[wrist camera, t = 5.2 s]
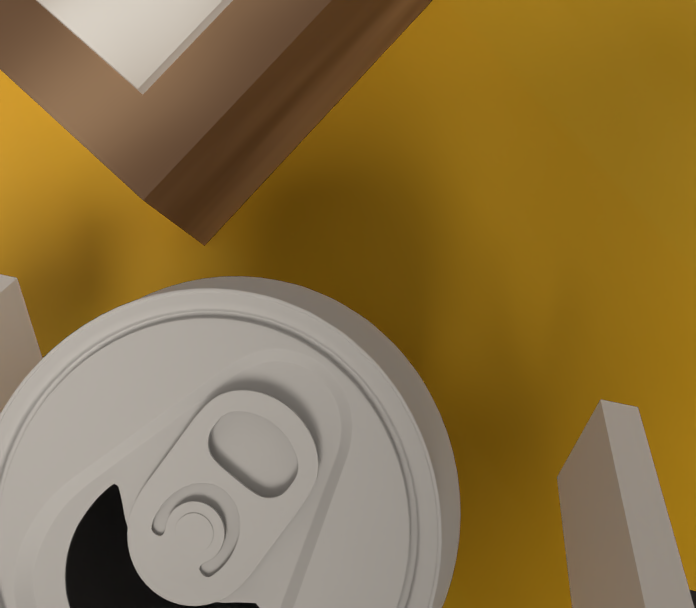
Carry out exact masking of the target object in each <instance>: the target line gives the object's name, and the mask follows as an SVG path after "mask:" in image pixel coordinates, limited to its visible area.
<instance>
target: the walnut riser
mask: <svg viewBox="0 0 696 608" xmlns="http://www.w3.org/2000/svg"><path fill="white" fill-rule="evenodd" d="M431 1H432V0H0V69H1V70H2V71H3V72H4V73H5V74H6V75H7V76H8V77H9V78H10V79H11V80H13V81H14V82H15V83H16V84H17V85H18V86H19V87H20V88H21V89H22V90H23V91H25V92H26V93H27V94H28V95H29V96H30V97H31V98H32V99H33V100H34V101H35V102H37V103H38V104H39V105H40V106H41V107H42V108H43V109H44V110H45V111H46V112H47V113H49V114H50V115H51V116H52V117H53V118H54V119H55V120H56V121H57V122H58V123H59V124H60V125H62V126H63V127H64V128H65V129H66V130H67V131H68V132H69V133H70V134H71V135H72V136H74V137H75V138H76V139H77V140H78V141H79V142H80V143H81V144H82V145H83V146H84V147H86V148H87V149H88V150H89V151H90V152H91V153H92V154H93V155H94V156H95V157H96V158H98V159H99V160H100V161H101V162H102V163H103V164H104V165H105V166H106V167H107V168H108V169H110V170H111V171H112V172H113V173H114V174H115V175H116V176H117V177H118V178H119V179H120V180H122V181H123V182H124V183H125V184H126V185H127V186H128V187H129V188H130V189H131V190H132V191H134V192H135V193H136V194H137V195H138V196H139V197H140V198H141V199H142V200H143V201H145V202H146V203H147V204H149V205H150V206H152V207H153V208H154V209H156V210H157V211H158V212H160V213H161V214H162V215H164V216H165V217H166V218H168V219H169V220H171V221H172V222H173V223H175V224H176V225H177V226H179V227H180V228H181V229H183V230H184V231H185V232H187V233H188V234H189V235H191V236H192V237H194V238H195V239H196V240H198V241H199V242H200V243H202V244H203V245H204V246H205V244H206V243H207V242H208V241H209V240H210V239H211V238H212V237H213V236H214V235H215V234H216V233H217V232H218V231H219V229H220V228H221V227H222V226H223V225H224V224H225V223H226V222H227V221H228V220H229V219H230V218H231V217H232V215H233V214H234V213H235V212H236V211H237V210H238V209H239V208H240V207H241V206H242V205H243V204H244V203H245V201H246V200H247V199H248V198H249V197H250V196H251V195H252V194H253V193H254V192H255V191H256V190H257V189H258V187H259V186H260V185H261V184H262V183H263V182H264V181H265V180H266V179H267V178H268V177H269V176H270V175H271V173H272V172H273V171H274V170H275V169H276V168H277V167H278V166H279V165H280V164H281V163H282V162H283V161H284V159H285V158H286V157H287V156H288V155H289V154H290V153H291V152H292V151H293V150H294V149H295V148H296V147H297V145H298V144H299V143H300V142H301V141H302V140H303V139H304V138H305V137H306V136H307V135H308V134H309V133H310V131H311V130H312V129H313V128H314V127H315V126H316V125H317V124H318V123H319V122H320V121H321V120H322V119H323V117H324V116H325V115H326V114H327V113H328V112H329V111H330V110H331V109H332V108H333V107H334V106H335V105H336V104H337V102H338V101H339V100H340V99H341V98H342V97H343V96H344V95H345V94H346V93H347V92H348V91H349V90H350V88H351V87H352V86H353V85H354V84H355V83H356V82H357V81H358V80H359V79H360V78H361V77H362V76H363V74H364V73H365V72H366V71H367V70H368V69H369V68H370V67H371V66H372V65H373V64H374V63H375V62H376V60H377V59H378V58H379V57H380V56H381V55H382V54H383V53H384V52H385V51H386V50H387V49H388V48H389V46H390V45H391V44H392V43H393V42H394V41H395V40H396V39H397V38H398V37H399V36H400V35H401V34H402V32H403V31H404V30H405V29H406V28H407V27H408V26H409V25H410V24H411V23H412V22H413V21H414V20H415V18H416V17H417V16H418V15H419V14H420V13H421V12H422V11H423V10H424V9H425V8H426V7H427V6H428V4H429V3H430V2H431Z"/></svg>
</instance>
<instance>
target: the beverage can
mask: <svg viewBox="0 0 696 608" xmlns="http://www.w3.org/2000/svg"><path fill="white" fill-rule="evenodd" d="M460 518H461V513H460V491H459V482H458V473H457V468H456V464H455V459H454V454H453V450H452V447H451V443H450V440H449V436H448V433H447V430H446V428H445V425H444V422H443V420H442V417H441V415H440V412H439V410H438V408H437V406H436V404H435V402H434V400H433V398H432V396H431V394H430V392H429V391H428V389H427V387H426V385H425V384H424V382H423V380H422V379H421V377H420V376H419V374H418V373H417V371H416V370H415V368H414V367H413V366H412V365H411V363H410V362H409V361H408V360H407V358H406V357H405V356H404V355H403V353H402V352H401V351H400V350H399V349H398V348H397V346H396V345H395V344H394V343H393V342H392V341H391V340H390V339H388V338H387V337H386V336H385V335H384V334H383V333H382V332H381V331H380V330H378V329H377V328H376V327H375V326H374V325H373V324H372V323H370V322H369V321H368V320H367V319H365V318H364V317H362V316H361V315H359V314H358V313H356V312H354V311H353V310H351V309H350V308H348V307H346V306H345V305H343V304H342V303H340V302H338V301H336V300H334V299H332V298H330V297H328V296H326V295H323V294H321V293H318V292H316V291H313V290H311V289H308V288H306V287H303V286H299V285H296V284H292V283H288V282H283V281H279V280H272V279H266V278H259V277H245V276H227V277H214V278H204V279H199V280H194V281H188V282H184V283H180V284H177V285H173V286H170V287H167V288H164V289H161V290H159V291H156V292H153V293H151V294H148V295H146V296H144V297H142V298H140V299H137V300H135V301H132V302H129V303H127V304H124V305H122V306H119V307H117V308H115V309H113V310H110V311H108V312H106V313H104V314H102V315H100V316H98V317H97V318H95V319H93V320H92V321H90V322H88V323H87V324H85V325H83V326H82V327H80V328H79V329H78V330H76V331H75V332H73V333H72V334H70V335H69V336H68V337H66V338H65V339H64V340H63V341H61V342H60V343H59V344H58V345H57V346H55V347H54V348H53V349H52V350H51V351H50V352H49V353H48V354H47V355H46V356H45V357H44V358H43V359H42V360H41V361H40V362H39V363H38V364H37V365H36V366H35V367H34V368H33V369H32V370H31V371H30V372H29V374H28V375H27V376H26V377H25V378H24V379H23V381H22V382H21V383H20V385H19V386H18V387H17V389H16V390H15V392H14V393H13V395H12V396H11V398H10V399H9V400H8V402H7V403H6V405H5V407H4V408H3V410H2V412H1V413H0V608H442V606H443V604H444V602H445V599H446V596H447V593H448V589H449V586H450V583H451V580H452V576H453V572H454V567H455V563H456V558H457V551H458V544H459V536H460Z"/></svg>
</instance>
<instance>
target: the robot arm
mask: <svg viewBox="0 0 696 608" xmlns="http://www.w3.org/2000/svg"><path fill="white" fill-rule="evenodd" d="M42 359H43V358H42V355H41V352H40V349H39V345H38V342H37V339H36V336H35V333H34V330H33V326H32V323H31V320H30V317H29V314H28V311H27V307H26V304H25V301H24V298H23V295H22V291H21V288H20V285H19V282H18V279H17V278H15V277H10V276H6V275H1V274H0V413H1V412H2V410H3V408H4V407H5V405H6V403H7V402H8V400H9V399H10V398H11V396H12V395H13V393H14V392H15V390H16V389H17V387H18V386H19V385H20V383H21V382H22V381H23V379H24V378H25V377H26V376H27V375H28V374H29V372H30V371H31V370H32V369H33V368H34V367H35V366H36V365H37V364H38V363H39V362H40V361H41V360H42ZM557 482H558V490H559V499H560V507H561V516H562V524H563V533H564V542H565V550H566V559H567V567H568V576H569V584H570V593H571V602H572V608H696V591H692V590H689V587H688V583H687V580H686V576H685V573H684V569H683V566H682V562H681V558H680V555H679V551H678V548H677V544H676V541H675V537H674V534H673V530H672V526H671V523H670V519H669V516H668V512H667V509H666V505H665V502H664V498H663V495H662V491H661V487H660V484H659V480H658V477H657V473H656V470H655V466H654V463H653V459H652V455H651V452H650V448H649V445H648V441H647V438H646V434H645V431H644V427H643V423H642V420H641V416H640V413H639V409H638V407H634V406H630V405H625V404H620V403H615V402H610V401H606V400H600V401H599V403H598V405H597V407H596V408H595V410H594V412H593V414H592V416H591V417H590V419H589V421H588V423H587V425H586V426H585V428H584V430H583V432H582V434H581V435H580V437H579V439H578V441H577V442H576V444H575V446H574V448H573V450H572V451H571V453H570V455H569V457H568V459H567V460H566V462H565V464H564V466H563V468H562V469H561V471H560V473H559V475H558V476H557Z"/></svg>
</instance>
